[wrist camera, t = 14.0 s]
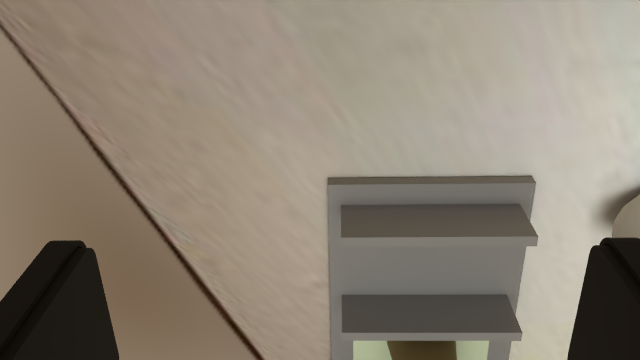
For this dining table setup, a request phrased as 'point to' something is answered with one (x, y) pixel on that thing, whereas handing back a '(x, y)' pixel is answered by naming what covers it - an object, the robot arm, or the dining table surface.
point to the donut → (628, 220)
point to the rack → (427, 263)
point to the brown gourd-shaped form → (422, 350)
